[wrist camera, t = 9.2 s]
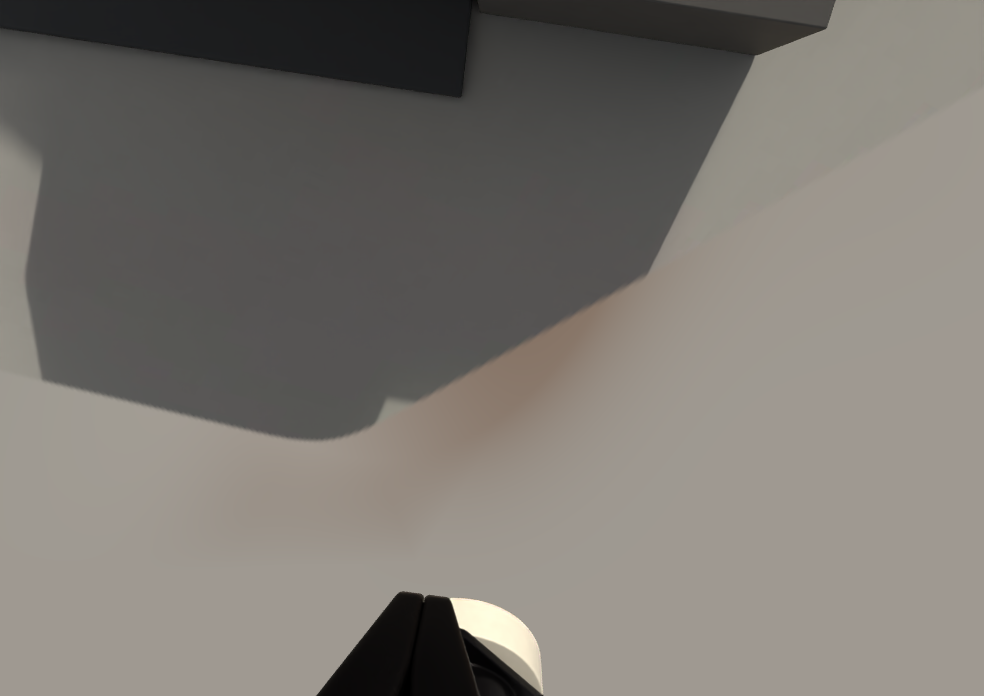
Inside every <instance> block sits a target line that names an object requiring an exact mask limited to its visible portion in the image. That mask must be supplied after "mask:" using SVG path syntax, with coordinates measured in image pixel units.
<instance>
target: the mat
mask: <svg viewBox="0 0 984 696" xmlns="http://www.w3.org/2000/svg"><path fill="white" fill-rule="evenodd" d="M471 5H472V0H0V28H6V29H12V30H19V31H25V32H32V33H39V34H45V35H52V36H58V37H65V38H71V39H78V40H84V41H91V42H98V43H104V44H111V45H117V46H124V47H130V48H137V49H144V50H150V51H157V52H163V53H170V54H176V55H183V56H189V57H196V58H203V59H209V60H216V61H222V62H229V63H235V64H242V65H249V66H255V67H262V68H268V69H275V70H281V71H288V72H295V73H301V74H308V75H314V76H321V77H327V78H334V79H340V80H347V81H354V82H360V83H367V84H373V85H380V86H386V87H393V88H400V89H406V90H413V91H419V92H426V93H432V94H439V95H445V96H452V97H459V98H461V96H462V87H463V78H464V69H465V60H466V51H467V42H468V33H469V23H470V14H471Z"/></svg>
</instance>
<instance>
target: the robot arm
mask: <svg viewBox="0 0 984 696" xmlns="http://www.w3.org/2000/svg"><path fill="white" fill-rule="evenodd" d="M317 696H543V695H542V694H541V693H540V692H539V691H537V690H536V689H535V688H534V687H533V686H532V685H530V684H529V683H528V682H527V681H526V680H524V679H523V678H522V677H521V676H520V675H519V674H517V673H516V672H515V671H514V670H513V669H511V668H510V667H509V666H508V665H507V664H506V663H504V662H503V661H502V660H501V659H500V658H498V657H497V656H496V655H495V654H494V653H493V652H491V651H490V650H489V649H488V648H487V647H485V646H484V645H483V644H482V643H481V642H480V641H478V640H477V639H476V638H475V637H474V636H472V635H471V634H470V633H469V632H468V631H466V630H465V629H462V628H459V624H458V621H457V618H456V614H455V611H454V608H453V604H452V602H451V600H450V599H449V598H447V597H441V596H434V595H428V596H426V597H425V599H424V597H423V595H422V594H419V593H411V592H404V591H403V592H399V593H398V594H397V595H396V596H395V597H394V599H393V600H392V601H391V602H390V604H389V605H388V606H387V607H386V609H385V610H384V611H383V612H382V614H381V615H380V616H379V617H378V619H377V620H376V621H375V622H374V624H373V625H372V626H371V627H370V629H369V630H368V631H367V633H366V634H365V635H364V636H363V638H362V639H361V640H360V641H359V643H358V644H357V645H356V647H355V648H354V649H353V650H352V652H351V653H350V654H349V655H348V656H347V658H346V659H345V660H344V662H343V663H342V664H341V665H340V667H339V668H338V669H337V670H336V672H335V673H334V674H333V675H332V677H331V678H330V679H329V680H328V682H327V683H326V684H325V686H324V687H323V688H322V689H321V691H320V692H319V693H318V694H317Z"/></svg>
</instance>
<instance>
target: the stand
mask: <svg viewBox="0 0 984 696" xmlns="http://www.w3.org/2000/svg"><path fill="white" fill-rule="evenodd" d="M834 3H835V0H478V5H479V9H480V12H481V13H488V14H494V15H500V16H507V17H513V18H520V19H526V20H533V21H539V22H545V23H552V24H558V25H565V26H571V27H578V28H584V29H590V30H597V31H603V32H610V33H616V34H623V35H629V36H635V37H642V38H648V39H655V40H661V41H668V42H674V43H681V44H687V45H693V46H700V47H706V48H713V49H719V50H726V51H732V52H738V53H745V54H751V55H759V54H762V53H764V52H767V51H769V50H772V49H775V48H777V47H780V46H783V45H785V44H788V43H790V42H793V41H796V40H798V39H801V38H803V37H806V36H809V35H811V34H814V33H816V32H819V31H822V30H824V29H826V28H827V26H828V22H829V19H830V16H831V13H832V10H833V7H834Z"/></svg>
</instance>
